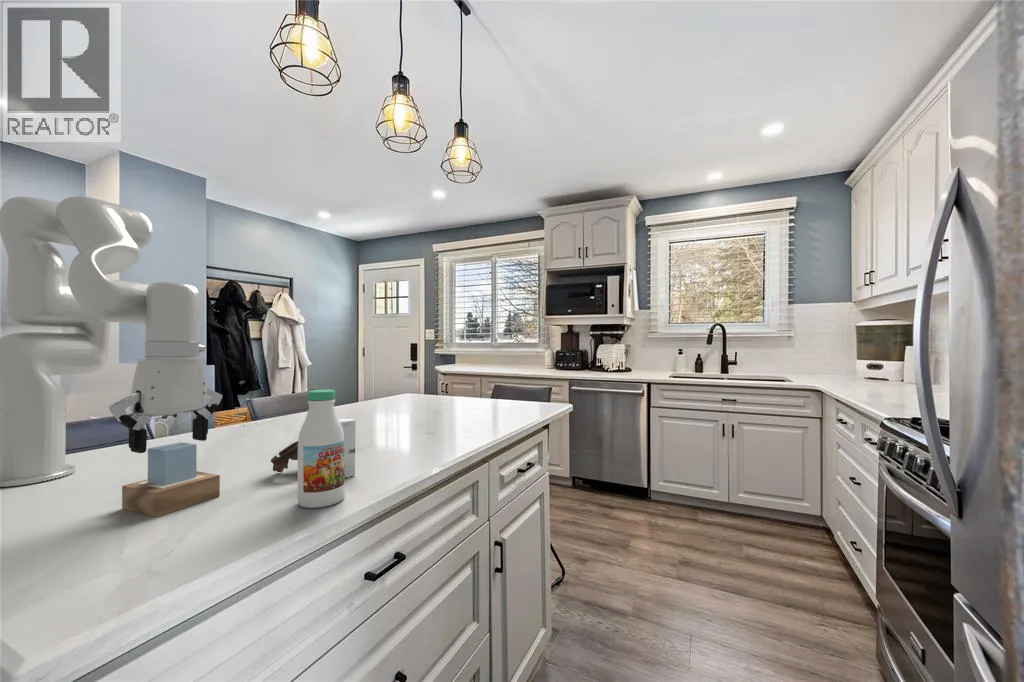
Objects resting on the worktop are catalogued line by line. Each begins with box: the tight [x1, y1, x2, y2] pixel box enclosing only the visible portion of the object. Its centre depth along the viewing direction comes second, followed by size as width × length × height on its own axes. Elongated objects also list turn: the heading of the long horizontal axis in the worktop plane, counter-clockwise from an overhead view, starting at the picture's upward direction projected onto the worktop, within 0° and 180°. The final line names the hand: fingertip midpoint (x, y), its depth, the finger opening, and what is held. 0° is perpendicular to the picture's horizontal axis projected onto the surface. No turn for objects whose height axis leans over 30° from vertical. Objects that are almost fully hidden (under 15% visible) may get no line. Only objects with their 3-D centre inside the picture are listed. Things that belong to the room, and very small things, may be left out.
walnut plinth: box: [121, 470, 221, 518], centre depth 74 cm, size 10×10×4 cm
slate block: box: [147, 442, 198, 486], centre depth 74 cm, size 5×5×6 cm
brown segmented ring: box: [270, 441, 298, 473], centre depth 92 cm, size 12×10×8 cm
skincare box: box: [338, 417, 356, 478], centre depth 88 cm, size 6×4×12 cm
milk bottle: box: [297, 389, 346, 509], centre depth 74 cm, size 8×8×20 cm
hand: (170, 445), depth 74 cm, fingers open, 9 cm apart
